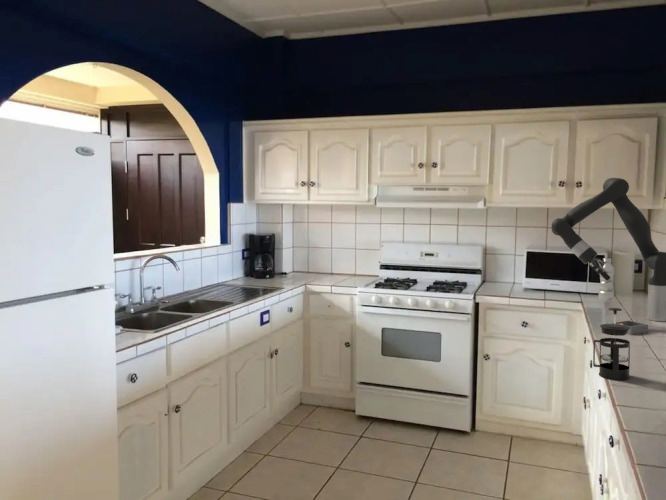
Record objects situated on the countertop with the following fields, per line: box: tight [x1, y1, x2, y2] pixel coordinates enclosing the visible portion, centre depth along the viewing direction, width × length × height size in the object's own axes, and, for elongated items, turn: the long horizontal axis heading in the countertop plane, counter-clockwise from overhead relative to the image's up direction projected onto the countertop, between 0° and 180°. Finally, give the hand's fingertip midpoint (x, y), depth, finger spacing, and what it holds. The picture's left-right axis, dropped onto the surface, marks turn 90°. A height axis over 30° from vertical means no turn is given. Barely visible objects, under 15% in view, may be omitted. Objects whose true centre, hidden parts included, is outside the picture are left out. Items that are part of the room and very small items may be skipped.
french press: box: [592, 307, 631, 381], centre depth 187 cm, size 12×9×23 cm
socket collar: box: [611, 320, 649, 336], centre depth 251 cm, size 10×10×4 cm
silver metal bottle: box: [598, 257, 615, 303], centre depth 260 cm, size 6×7×20 cm
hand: (610, 278), depth 259 cm, fingers closed on silver metal bottle, 6 cm apart
